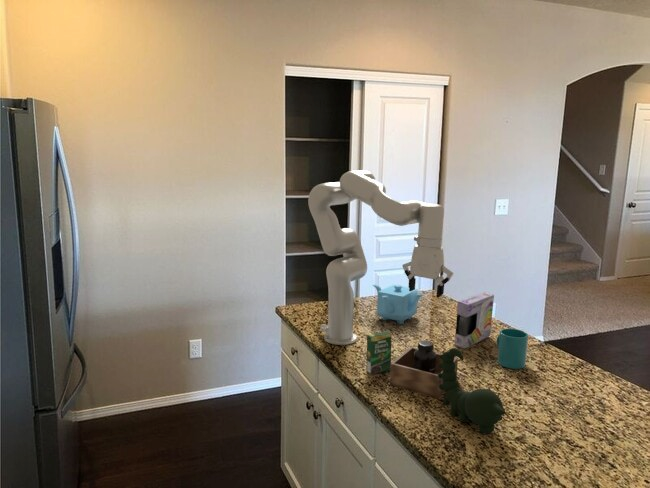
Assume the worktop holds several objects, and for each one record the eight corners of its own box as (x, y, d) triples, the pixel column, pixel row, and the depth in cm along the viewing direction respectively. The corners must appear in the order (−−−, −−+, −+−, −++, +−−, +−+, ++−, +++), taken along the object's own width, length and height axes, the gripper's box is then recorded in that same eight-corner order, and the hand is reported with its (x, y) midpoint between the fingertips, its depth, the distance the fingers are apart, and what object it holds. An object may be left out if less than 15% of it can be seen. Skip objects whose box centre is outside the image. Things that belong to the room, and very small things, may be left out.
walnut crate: (389, 384, 157) (390, 363, 156) (410, 366, 171) (410, 346, 169) (439, 398, 149) (440, 376, 148) (456, 378, 162) (457, 357, 161)
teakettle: (410, 311, 229) (411, 279, 226) (425, 325, 210) (426, 291, 208) (369, 312, 225) (370, 280, 223) (381, 327, 207) (382, 292, 204)
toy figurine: (430, 409, 146) (489, 449, 124) (430, 345, 144) (490, 374, 122) (457, 403, 150) (519, 440, 127) (457, 340, 148) (520, 367, 125)
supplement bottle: (434, 385, 156) (437, 348, 154) (412, 382, 157) (414, 346, 155) (434, 375, 163) (436, 339, 160) (413, 373, 164) (414, 338, 162)
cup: (506, 353, 182) (508, 324, 180) (531, 367, 171) (534, 335, 169) (486, 357, 179) (488, 327, 176) (510, 371, 168) (513, 339, 166)
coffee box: (369, 375, 164) (371, 337, 161) (365, 371, 166) (366, 334, 164) (391, 371, 167) (392, 333, 165) (386, 367, 170) (387, 330, 167)
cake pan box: (463, 350, 185) (466, 303, 182) (451, 346, 189) (454, 300, 185) (491, 337, 198) (495, 293, 194) (480, 333, 201) (483, 291, 198)
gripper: (399, 240, 165) (396, 290, 169) (450, 248, 155) (446, 301, 159) (409, 237, 171) (406, 285, 175) (459, 244, 162) (454, 295, 165)
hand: (425, 293), depth 167 cm, fingers open, 9 cm apart
